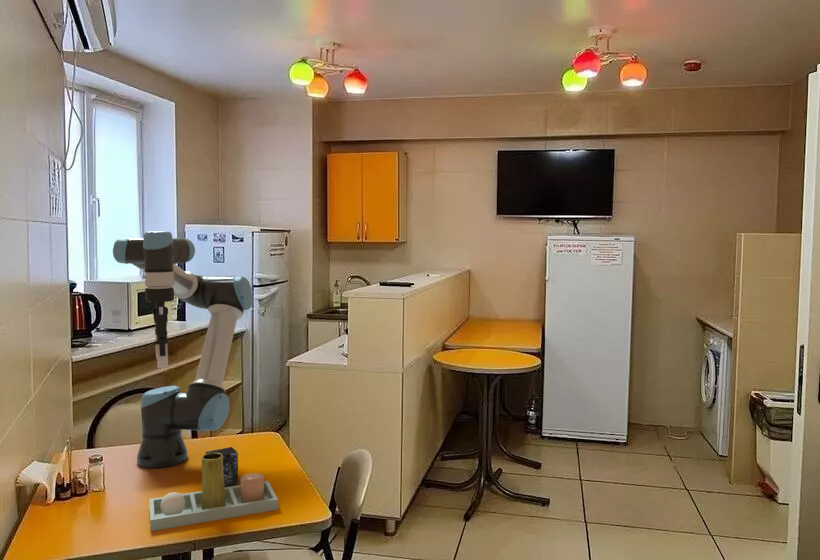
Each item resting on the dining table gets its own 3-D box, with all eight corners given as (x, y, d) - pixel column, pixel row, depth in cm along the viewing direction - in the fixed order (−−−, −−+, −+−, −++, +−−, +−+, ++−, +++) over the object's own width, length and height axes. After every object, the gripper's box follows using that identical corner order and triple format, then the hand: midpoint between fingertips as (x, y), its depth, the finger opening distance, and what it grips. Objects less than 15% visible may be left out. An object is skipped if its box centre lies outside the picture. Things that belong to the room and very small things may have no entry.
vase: (203, 516, 164) (202, 461, 163) (199, 507, 170) (198, 454, 169) (228, 511, 167) (226, 457, 166) (223, 502, 173) (221, 450, 172)
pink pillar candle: (239, 500, 174) (239, 475, 174) (261, 496, 176) (261, 471, 176) (242, 509, 169) (242, 483, 168) (266, 505, 171) (265, 479, 170)
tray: (149, 511, 169) (149, 499, 169) (268, 492, 181) (268, 480, 181) (150, 534, 157) (150, 520, 156) (278, 512, 169) (278, 499, 168)
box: (211, 493, 180) (210, 457, 180) (205, 487, 185) (204, 451, 184) (239, 487, 185) (238, 451, 184) (232, 481, 189) (231, 446, 189)
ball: (160, 513, 166) (159, 490, 166) (184, 509, 169) (184, 486, 168) (161, 522, 161) (160, 499, 160) (186, 518, 163) (185, 495, 163)
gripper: (144, 284, 188) (146, 355, 190) (145, 291, 165) (148, 373, 167) (171, 283, 191) (173, 353, 193) (176, 290, 168) (178, 370, 170)
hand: (161, 362), depth 180 cm, fingers open, 13 cm apart
